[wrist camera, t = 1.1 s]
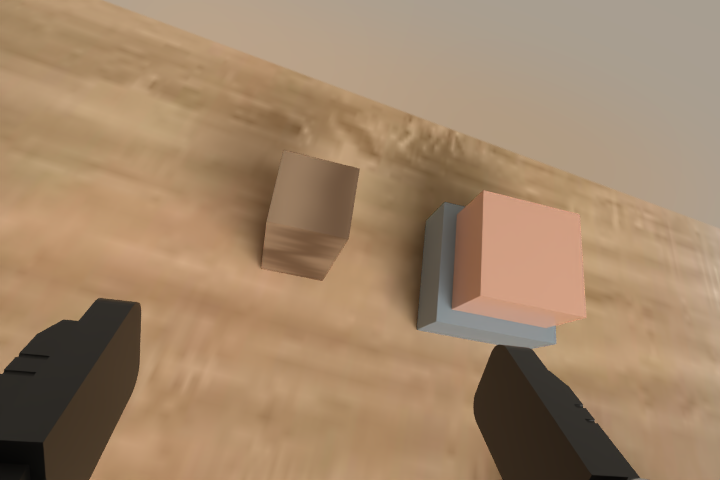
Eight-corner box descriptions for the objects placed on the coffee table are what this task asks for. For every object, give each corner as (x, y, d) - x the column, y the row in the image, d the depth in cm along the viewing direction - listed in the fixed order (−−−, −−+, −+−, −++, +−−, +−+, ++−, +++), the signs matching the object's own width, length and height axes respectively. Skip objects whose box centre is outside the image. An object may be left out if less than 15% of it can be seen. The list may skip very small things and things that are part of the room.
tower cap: (451, 309, 33) (480, 295, 29) (456, 214, 36) (483, 190, 32) (546, 328, 35) (586, 317, 31) (543, 235, 38) (579, 214, 34)
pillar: (261, 268, 35) (266, 221, 26) (274, 212, 37) (283, 149, 28) (322, 280, 36) (348, 239, 27) (332, 225, 38) (359, 168, 29)
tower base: (415, 330, 37) (436, 321, 33) (424, 222, 41) (444, 201, 37) (523, 350, 39) (556, 344, 34) (522, 244, 42) (552, 227, 38)
